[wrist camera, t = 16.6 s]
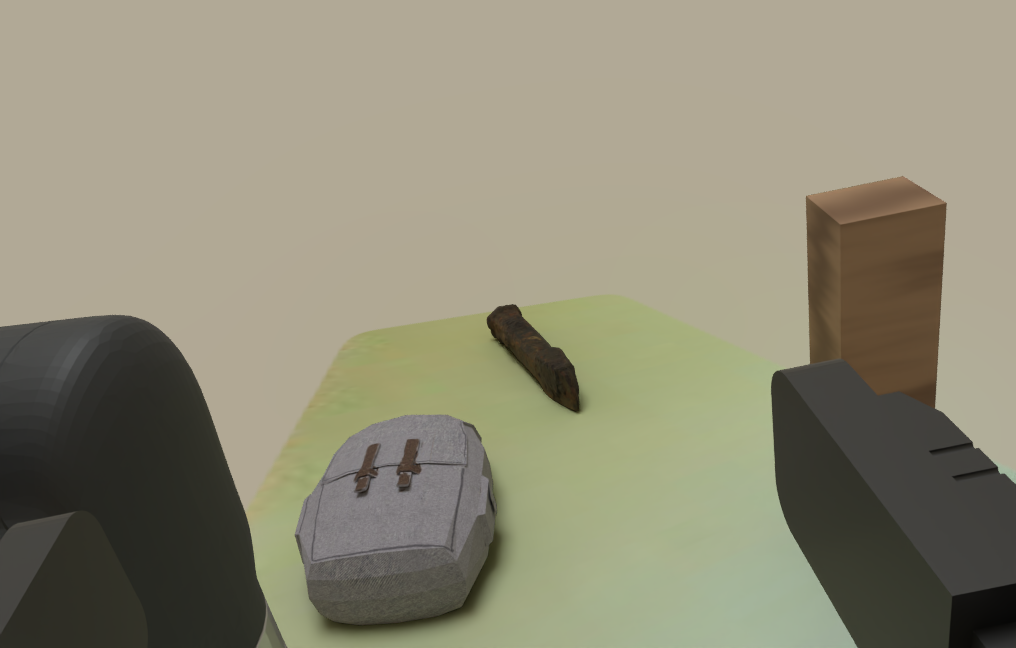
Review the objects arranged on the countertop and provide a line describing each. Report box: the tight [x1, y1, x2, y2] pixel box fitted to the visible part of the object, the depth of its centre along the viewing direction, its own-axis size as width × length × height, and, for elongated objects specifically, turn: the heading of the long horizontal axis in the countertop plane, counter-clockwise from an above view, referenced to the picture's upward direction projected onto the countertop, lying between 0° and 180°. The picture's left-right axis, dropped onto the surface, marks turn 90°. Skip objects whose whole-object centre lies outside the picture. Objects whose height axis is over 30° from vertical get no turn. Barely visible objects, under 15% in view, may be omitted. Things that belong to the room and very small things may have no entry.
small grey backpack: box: [295, 415, 497, 625], centre depth 66 cm, size 15×8×20 cm
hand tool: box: [487, 304, 579, 411], centre depth 86 cm, size 19×4×5 cm, turn 19°
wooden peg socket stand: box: [806, 176, 947, 409], centre depth 45 cm, size 29×10×24 cm, turn 5°
